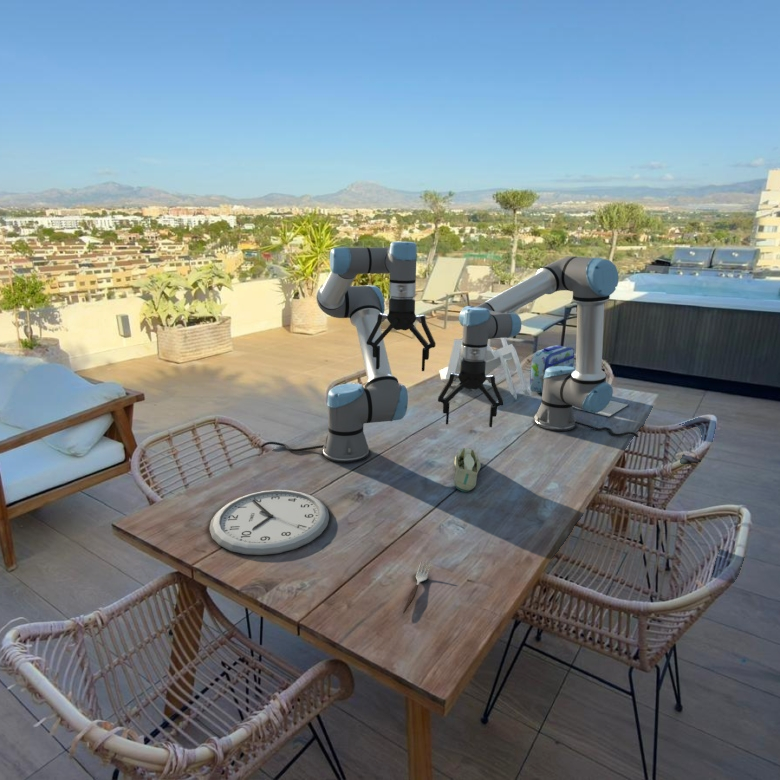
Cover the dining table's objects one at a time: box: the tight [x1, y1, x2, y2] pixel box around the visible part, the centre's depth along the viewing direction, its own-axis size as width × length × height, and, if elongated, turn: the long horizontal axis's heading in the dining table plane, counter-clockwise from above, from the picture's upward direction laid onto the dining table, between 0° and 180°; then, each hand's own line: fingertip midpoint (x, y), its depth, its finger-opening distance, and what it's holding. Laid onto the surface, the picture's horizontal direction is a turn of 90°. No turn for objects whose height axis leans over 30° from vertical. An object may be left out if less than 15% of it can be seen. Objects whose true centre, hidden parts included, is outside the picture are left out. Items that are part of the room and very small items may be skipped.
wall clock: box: [209, 489, 330, 556], centre depth 135 cm, size 30×2×30 cm
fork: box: [402, 559, 432, 614], centre depth 109 cm, size 3×16×2 cm, turn 160°
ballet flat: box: [453, 447, 482, 493], centre depth 161 cm, size 8×25×8 cm, turn 173°
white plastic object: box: [438, 338, 531, 400], centre depth 245 cm, size 37×45×31 cm
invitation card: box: [573, 400, 629, 418], centre depth 226 cm, size 21×1×15 cm
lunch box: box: [529, 345, 575, 394], centre depth 245 cm, size 26×11×21 cm, turn 134°
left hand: (400, 369), depth 156 cm, fingers open, 13 cm apart
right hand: (468, 424), depth 165 cm, fingers open, 13 cm apart
